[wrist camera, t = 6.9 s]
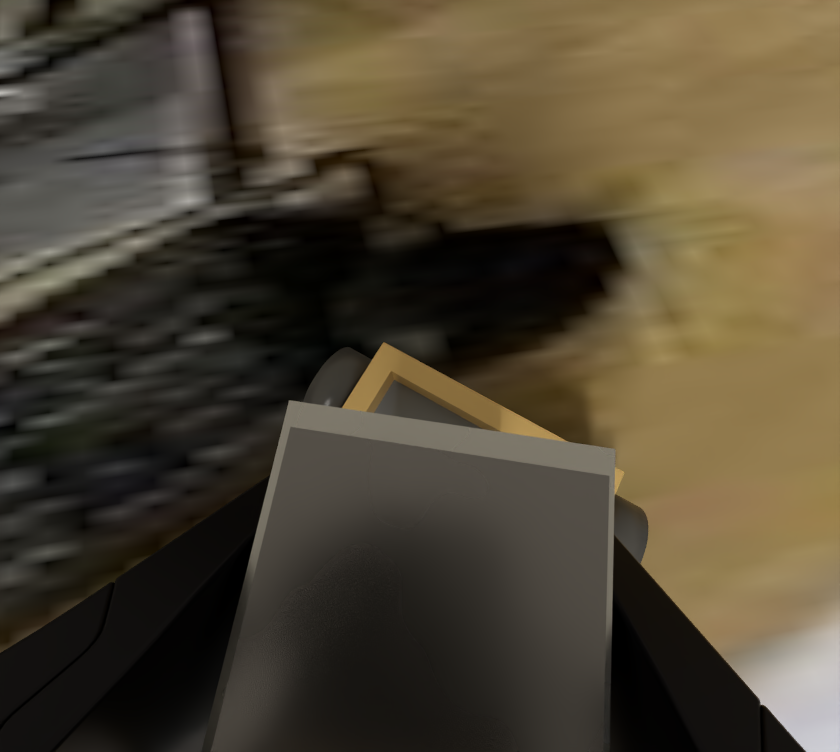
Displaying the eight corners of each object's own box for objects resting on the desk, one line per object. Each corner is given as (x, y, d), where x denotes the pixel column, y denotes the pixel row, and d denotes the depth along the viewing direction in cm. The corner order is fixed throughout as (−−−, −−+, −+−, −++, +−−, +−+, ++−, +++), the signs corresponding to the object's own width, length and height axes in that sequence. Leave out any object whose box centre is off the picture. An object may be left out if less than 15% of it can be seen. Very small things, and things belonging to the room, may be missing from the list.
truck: (385, 1031, 15) (360, 1326, 10) (93, 778, 18) (-54, 905, 12) (619, 489, 20) (686, 490, 15) (367, 351, 23) (347, 309, 17)
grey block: (491, 626, 13) (654, 997, 4) (344, 599, 13) (130, 871, 4) (505, 473, 14) (652, 441, 5) (372, 452, 15) (263, 383, 5)
